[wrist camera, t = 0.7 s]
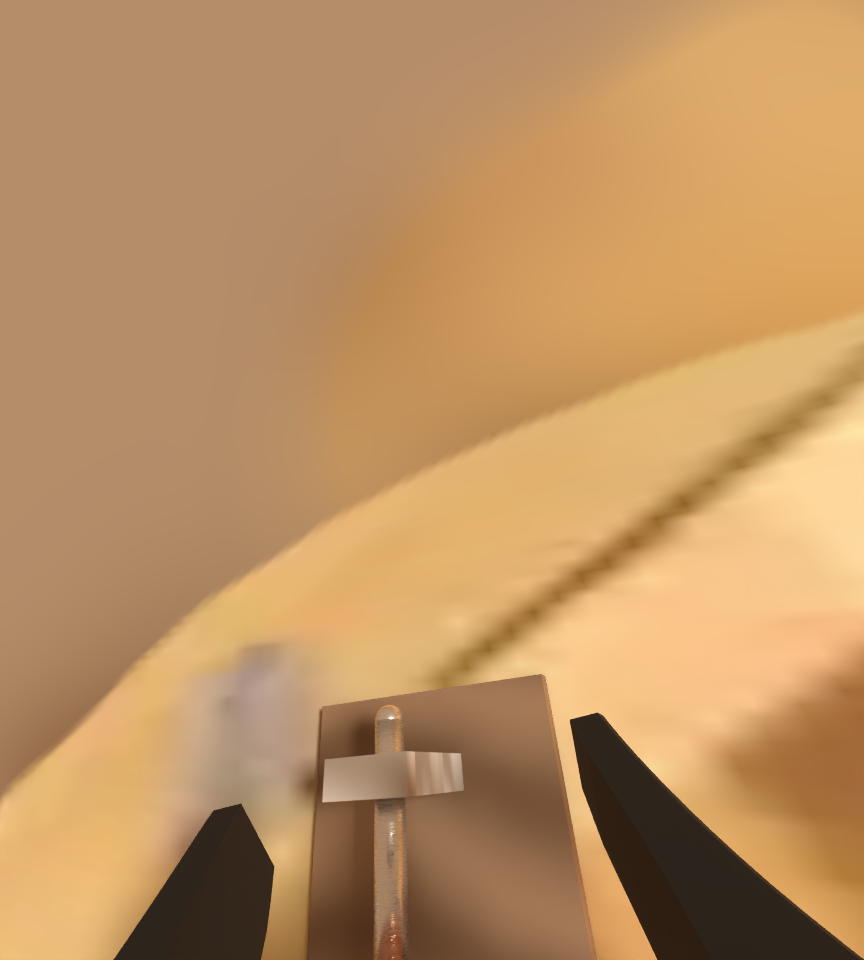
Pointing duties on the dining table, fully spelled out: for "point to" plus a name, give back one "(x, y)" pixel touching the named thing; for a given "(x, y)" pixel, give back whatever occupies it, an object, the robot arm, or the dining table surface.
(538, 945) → the board
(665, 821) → the robot arm
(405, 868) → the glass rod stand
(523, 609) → the dining table surface
